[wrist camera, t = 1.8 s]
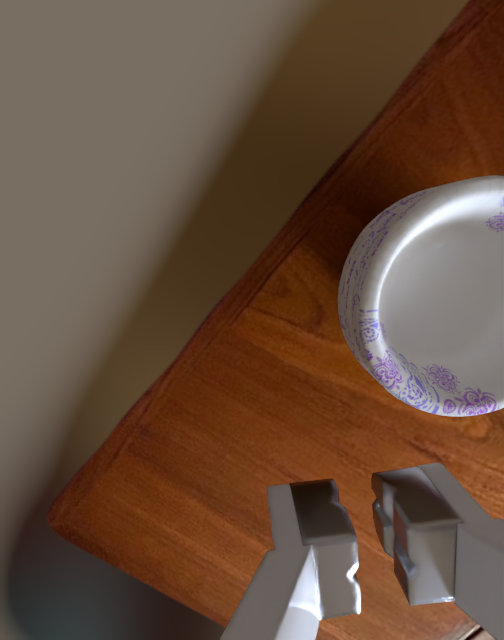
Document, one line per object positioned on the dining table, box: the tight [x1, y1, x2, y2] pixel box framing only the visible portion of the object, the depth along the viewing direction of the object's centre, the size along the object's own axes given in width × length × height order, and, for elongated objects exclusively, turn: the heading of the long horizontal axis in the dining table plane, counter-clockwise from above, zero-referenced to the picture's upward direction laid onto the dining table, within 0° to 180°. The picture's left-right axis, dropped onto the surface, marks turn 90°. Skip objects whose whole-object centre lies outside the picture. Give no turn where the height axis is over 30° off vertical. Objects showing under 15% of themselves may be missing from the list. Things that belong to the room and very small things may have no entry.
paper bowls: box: [338, 175, 504, 416], centre depth 25 cm, size 15×15×8 cm
